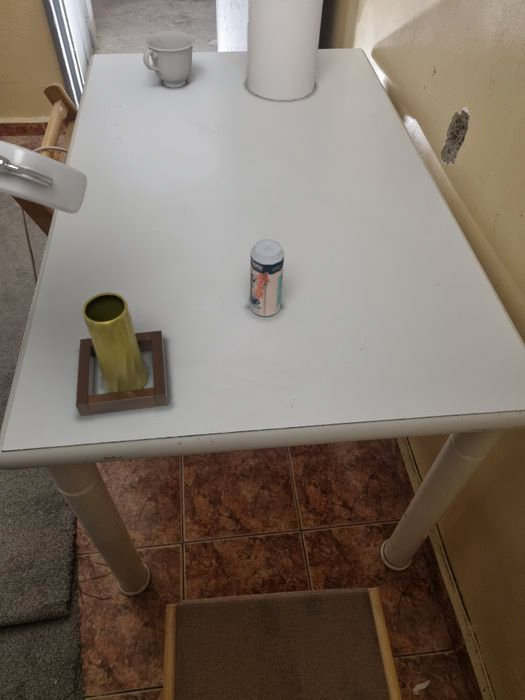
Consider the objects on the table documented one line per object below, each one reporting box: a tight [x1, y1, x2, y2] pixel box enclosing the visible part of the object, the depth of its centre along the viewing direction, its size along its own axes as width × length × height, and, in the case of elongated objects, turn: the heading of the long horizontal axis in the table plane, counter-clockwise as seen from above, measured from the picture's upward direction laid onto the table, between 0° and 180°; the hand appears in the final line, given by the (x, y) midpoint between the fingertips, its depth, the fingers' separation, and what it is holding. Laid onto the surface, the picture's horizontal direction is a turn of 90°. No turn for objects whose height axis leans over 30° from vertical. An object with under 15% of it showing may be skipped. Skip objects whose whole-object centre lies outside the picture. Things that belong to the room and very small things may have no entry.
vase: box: [82, 292, 149, 393], centre depth 67 cm, size 6×6×14 cm
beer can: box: [249, 238, 285, 317], centre depth 77 cm, size 5×5×12 cm
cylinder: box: [246, 0, 324, 101], centre depth 122 cm, size 17×17×28 cm
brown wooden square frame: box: [75, 330, 169, 417], centre depth 72 cm, size 12×12×2 cm
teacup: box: [142, 30, 196, 89], centre depth 127 cm, size 12×15×10 cm
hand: (31, 183), depth 52 cm, fingers open, 8 cm apart
